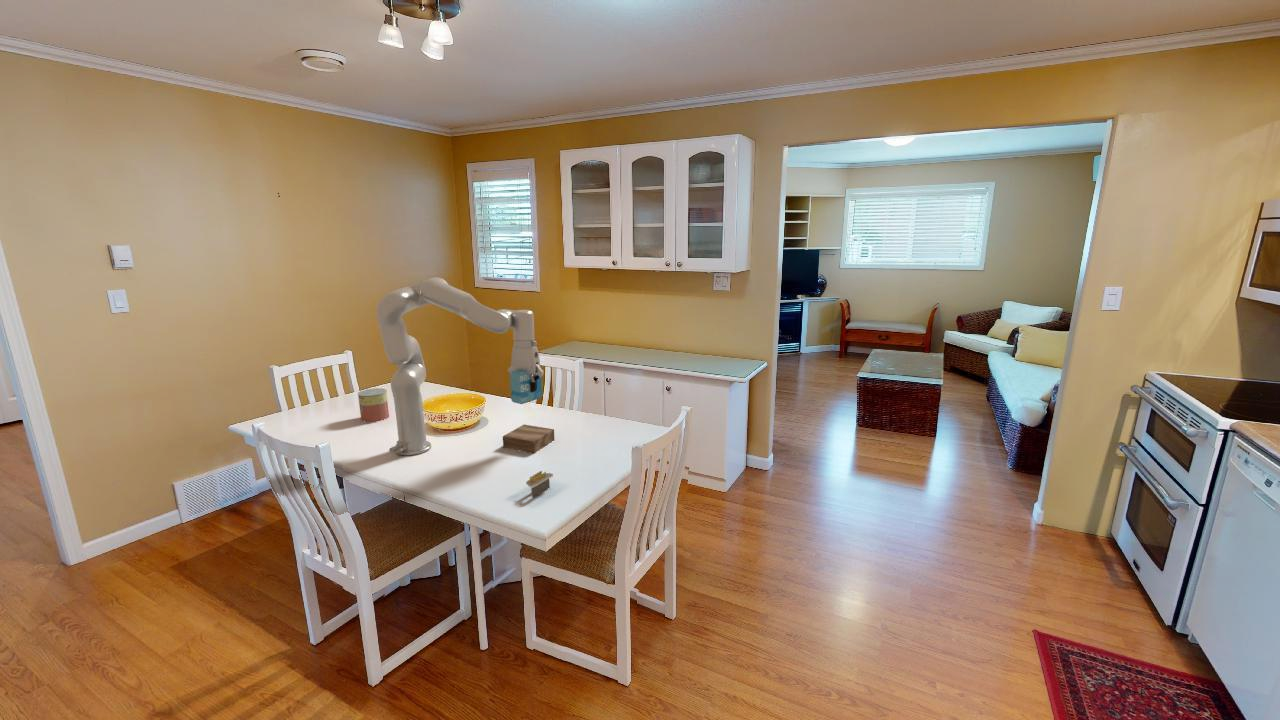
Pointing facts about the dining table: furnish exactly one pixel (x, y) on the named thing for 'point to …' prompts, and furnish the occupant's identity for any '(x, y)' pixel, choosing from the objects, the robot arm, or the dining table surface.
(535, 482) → the platform
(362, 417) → the canned food
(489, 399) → the dining table surface
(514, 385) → the blue flat box
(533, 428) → the walnut base block
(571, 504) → the dining table surface
